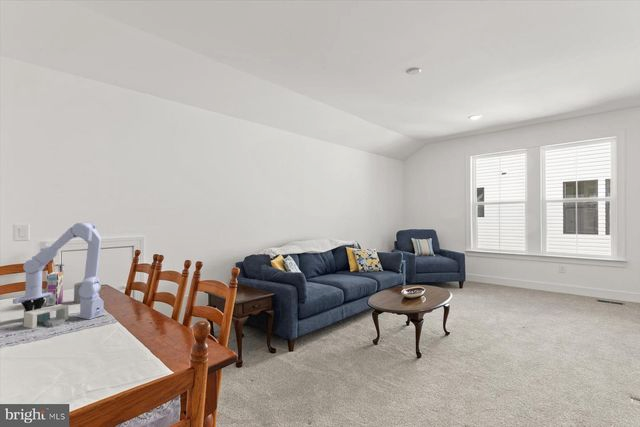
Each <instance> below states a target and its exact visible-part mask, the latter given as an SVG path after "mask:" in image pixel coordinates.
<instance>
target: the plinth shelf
mask: <svg viewBox="0 0 640 427" xmlns="http://www.w3.org/2000/svg"><path fill="white" fill-rule="evenodd" d="M47 312H50V313H51V312H55V318H56V317H59V318H65V321H66V320H69V305H66V304H60V303H59V304H58V305H54V306H45V307H41V309H36V310H32V311H27V312H24V311H23V327H25V328H29V329H34V328H35V329H36V328H37V327H38V326H37V325H38V321H37V315H39V314H43V313H47Z"/></svg>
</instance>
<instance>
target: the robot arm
mask: <svg viewBox="0 0 640 427" xmlns="http://www.w3.org/2000/svg"><path fill="white" fill-rule="evenodd" d="M75 238H76V239H77V238H79V239H82V240H83V241H85V243H87V250H86V251H87V253H86V262H85V268H84V269H85V270H84V277H83V279H82V281H81V282H82V286H81V287H80V289H79V295H80V296H81V300H80V305H79V306H80V309H79V314H76V315H75V317H76V318H80V319H86V320H91V319H95V318H98V317H102V316H105V315H106V313H105V309H104V308H105V306H104V305H105V302H104V300H103V298H101V297H100V294H99V292H100V290H101V289H102V286H101V283H100V278H99V267H100V257H101V248H102V237H101V235H100V234H99V232H98V230H97V227H96V226H95V225H93V223H91V222H77V223H75V224H74V225H72V226H71V227H69V228H68V229H67V230H66V231H65V232H64V233H63V234H61V236H60V237H58V239H56V241H55V242H53V243H52V244H51V245H50V246H45V247H41V248H40V249H39V250H40V251H39V252H38V253H37V254H36V255H33V256H32V257H31V259H28V260H26V261H25V262H24V264H23V265H22V266H23V267H22V268H23V271H24V272H25V294H24V296H21V297H17V298H12V304H14V305H16V304H21V305H22V306H23V308H24V310H26V312H27V311H32V310H33V309H34V310H36V309H41V308H43V305H44V303H46V298H47V297H53V293H52V292H49V293H46V292H43V270H45V268H46V265H47V264H48V263H49V262H51V261H52V260H54V258H55V257H56V256H58V251H59V250H60V249H61V248H62V247H64V246H66V245H67V243H69V242H70V241H71V240H72V239H75Z"/></svg>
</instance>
